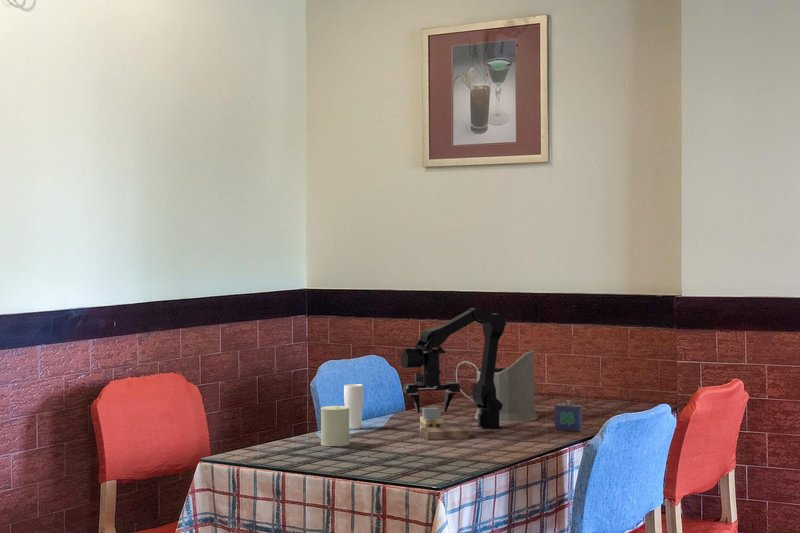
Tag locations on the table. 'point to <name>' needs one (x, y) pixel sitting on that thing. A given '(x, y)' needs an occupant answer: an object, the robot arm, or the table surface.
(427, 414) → the block
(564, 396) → the table surface
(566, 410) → the flask
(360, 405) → the drinking glass
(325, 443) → the can
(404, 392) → the robot arm
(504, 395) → the pitcher
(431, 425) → the block
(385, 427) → the table surface
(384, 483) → the table surface
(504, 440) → the table surface
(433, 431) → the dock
